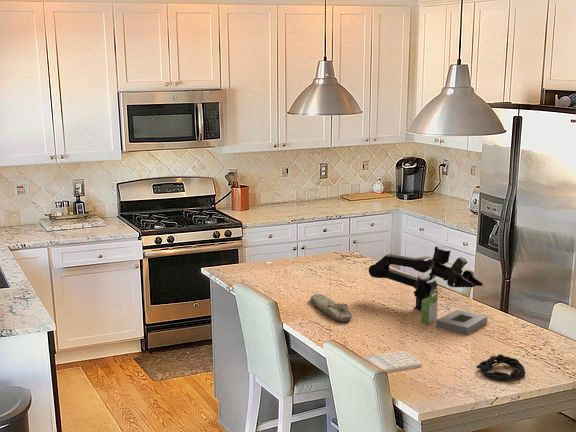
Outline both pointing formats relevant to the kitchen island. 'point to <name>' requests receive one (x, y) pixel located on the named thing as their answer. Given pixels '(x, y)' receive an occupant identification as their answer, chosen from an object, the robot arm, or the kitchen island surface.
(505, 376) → the cable
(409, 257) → the robot arm
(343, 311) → the long grey stone
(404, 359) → the calculator
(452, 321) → the pocket plate
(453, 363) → the kitchen island surface
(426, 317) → the ink box
